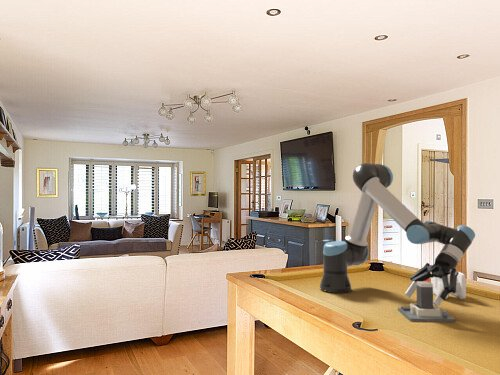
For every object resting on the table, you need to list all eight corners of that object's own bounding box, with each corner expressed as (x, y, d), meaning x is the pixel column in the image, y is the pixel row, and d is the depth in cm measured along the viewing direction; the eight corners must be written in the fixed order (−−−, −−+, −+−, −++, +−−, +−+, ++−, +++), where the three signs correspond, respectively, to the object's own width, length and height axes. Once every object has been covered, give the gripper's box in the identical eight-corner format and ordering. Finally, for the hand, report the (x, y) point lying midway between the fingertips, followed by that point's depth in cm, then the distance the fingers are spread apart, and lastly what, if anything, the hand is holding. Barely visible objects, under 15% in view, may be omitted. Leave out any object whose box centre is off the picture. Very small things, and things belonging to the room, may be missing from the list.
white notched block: (467, 301, 167) (467, 274, 168) (442, 301, 168) (442, 274, 169) (452, 293, 182) (452, 268, 183) (429, 292, 183) (429, 268, 184)
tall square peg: (421, 314, 145) (421, 283, 146) (416, 311, 150) (416, 281, 150) (433, 314, 145) (432, 284, 146) (428, 311, 150) (427, 281, 150)
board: (410, 321, 141) (410, 311, 141) (397, 310, 155) (397, 301, 155) (455, 321, 140) (454, 312, 140) (437, 310, 154) (437, 301, 154)
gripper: (482, 269, 142) (454, 315, 136) (428, 259, 165) (401, 298, 159) (472, 256, 140) (442, 301, 134) (418, 248, 164) (391, 286, 157)
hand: (420, 300), depth 147 cm, fingers open, 13 cm apart
